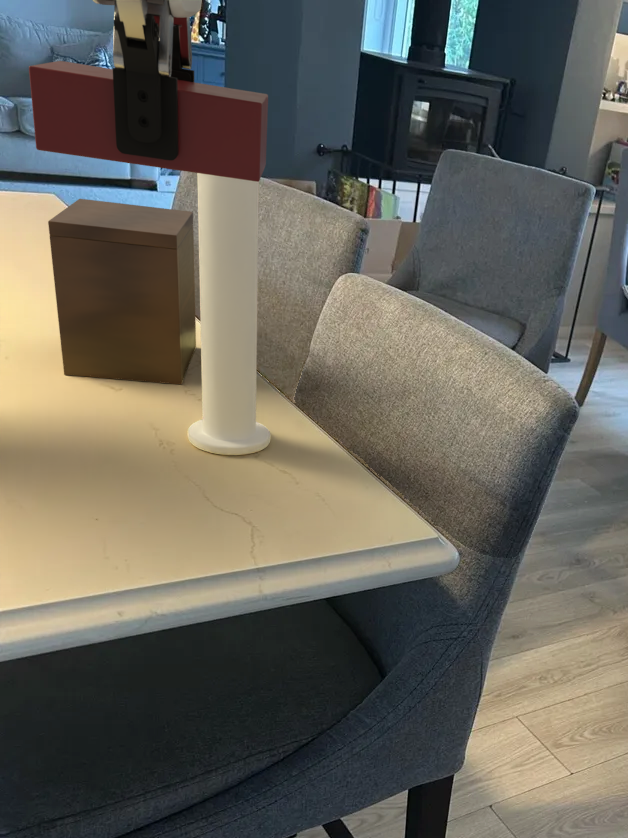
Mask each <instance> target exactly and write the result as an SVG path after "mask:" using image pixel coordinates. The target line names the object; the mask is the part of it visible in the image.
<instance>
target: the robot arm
mask: <svg viewBox="0 0 628 838" xmlns="http://www.w3.org/2000/svg"><path fill="white" fill-rule="evenodd" d="M92 2H93V3H95V4H97V5H102V6H113V7H114V9H113V10H114V11H113V37H112V39H113V43H112V58H113V68H112V69H113V87H114V108H115V129H116V146H117V149H118V150H119V151H120V152H121V153H123V154H129V155H136V156H142V157H149V158H156V159H163V160H174V159H175V158H176V157H177V156H178V153H179V151H178V80H182V81H188V82H195V70H194V69H192V67H193V50H192V49H193V48H192V47H193V46H192V33H191V32H192V31H191V17H193V16H195V15H196V14H197V13H199V12H200V11H201V8H202V4H203V3H202V2H203V0H92Z"/></svg>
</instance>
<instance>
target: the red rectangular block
mask: <svg viewBox="0 0 628 838" xmlns="http://www.w3.org/2000/svg"><path fill="white" fill-rule="evenodd" d="M28 74H29V75H28V76H29V85H30V97H31V107H32V108H31V109H32V117H33V128H34V139H35V149H36V150H37V151H40V152H47V153H48V152H49V153H55V154H62V155H69V156H76V157H83V158H89V159H98V160H105V161H109V162H117V163H123V164H124V163H125V164H130V165H131V164H132V165H138V166H144V167H153V168H159V169H166V170H173V171H181V172H186V173H187V172H188V173H193V174H197V173H201V174H207V175H214V176H221V177H228V178H235V179H242V180H249V181H256V182H259V183H260V180H261V178H262V177H263V176H262V175H263V173H264V171H265V168H266V166H267V143H268V115H269V113H268V111H269V94H267V93H264V92H263V93H262V92H257V91H256V92H255V91H250V90H244V89H237V88H229V87H224V86H220V85H219V86H218V85H213V84H206V83H201V82H195V81H194V82H188V81H182V80H178V151H179V153H178V156H177V157H176V158H175V159H174V160H163V159H156V158H149V157H142V156H136V155H129V154H123V153H121V152H120V151H119V150H118V149H117V146H116V129H115V108H114V87H113V68H108V67H101V66H94V65H88V64H83V63H78V62H77V63H76V62H71V61H64V60H58V61H57V60H56V61H50V62H45V63H39V64H34V65H33V64H32V65H29V66H28Z"/></svg>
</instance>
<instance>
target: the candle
mask: <svg viewBox="0 0 628 838" xmlns="http://www.w3.org/2000/svg"><path fill="white" fill-rule="evenodd" d="M196 178H197V220H198V221H197V222H198V223H197V224H198V226H197V227H198V228H197V229H198V263H199V264H198V269H199V272H198V273H199V275H198V276H199V317H200V321H199V322H200V358H201V359H200V361H201V363H200V364H201V365H200V366H201V404H202V405H201V408H202V409H201V410H202V418H201V419H198V420H196V421H194V422H193V423H191V424H190V425H189V426H188V428H187V439H188V441H189V443H190V444H191V445H193V446H194V447H195V448H197V449H199V450H201V451H204V452H207V453H211V454H215V455H224V456H243V455H250V454H254V453H257V452H260V451H262V450H264V449H266V448H267V447H268V446H269V445H270V442H271V432H270V430H269V428H268V427H266V425H264V424H262V423H260V422H258V421H257V367H258V365H257V363H258V361H257V360H258V354H257V353H258V351H257V350H258V287H259V286H258V281H259V280H258V279H259V278H258V275H259V274H258V273H259V208H260V207H259V206H260V205H259V201H260V200H259V198H260V196H259V195H260V192H259V191H260V181H259V182H256V181H249V180H242V179H235V178H228V177H221V176H214V175H207V174H201V173H196Z"/></svg>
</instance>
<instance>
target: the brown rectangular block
mask: <svg viewBox="0 0 628 838" xmlns="http://www.w3.org/2000/svg"><path fill="white" fill-rule="evenodd" d="M47 225H48V233H49V244H50V254H51V265H52V272H53V281H54V291H55V300H56V311H57V321H58V330H59V339H60V348H61V350H60V351H61V358H62V368H63V375H65V376H75V377H87V378H98V379H99V378H101V379H111V380H122V381H125V380H126V381H136V382H147V383H159V384H170V385H182V384H183V382H184V379H185V376H186V373H187V371H188V370H189V369H188V368H189V366H190V364H191V361H192V358H193V356H194V354H195V351H196V348H197V332H196V331H197V330H196V329H197V327H196V326H197V325H196V321H197V320H196V284H195V244H194V243H195V242H194V241H195V240H194V239H195V237H194V212H193V211H188V210H181V209H172V208H163V207H154V206H145V205H138V204H128V203H120V202H112V201H103V200H96V199H86V198H78V199H77V200H76V201H74V202H72V203H71V204H70V205H68V206H67V207H66V208H64V209H63V210H62V211H60V212H58V213H57V214H56V215H55V216H54V217H52V218H50V219H49V220H48V221H47Z"/></svg>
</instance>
